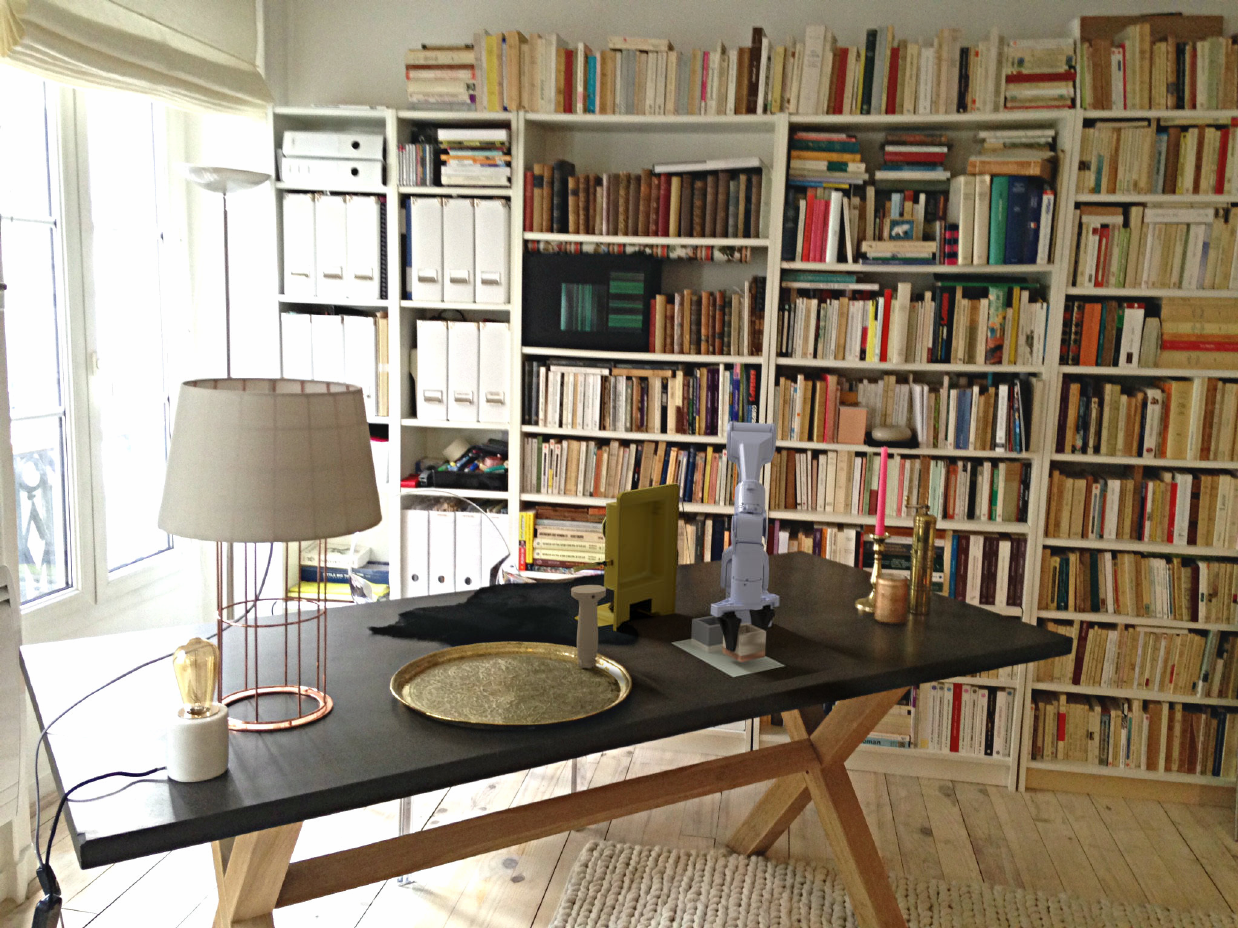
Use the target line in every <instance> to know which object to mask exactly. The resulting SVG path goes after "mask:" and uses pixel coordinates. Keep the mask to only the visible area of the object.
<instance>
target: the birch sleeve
mask: <svg viewBox="0 0 1238 928" xmlns="http://www.w3.org/2000/svg"><path fill="white" fill-rule="evenodd" d="M766 640H767V630H766V631H764V630H762V629H760V628H758V627H756V626H753V625H751V624H749V623H743V624H740V627H739V631H738V636H737V645H736V650H735V652H731V651H729V650H728V649H726V644H725V639H724V635H723V652H722V653H724V654H726V655H728V656H730V657H732V658H734V659H736V660H738V661H740V662H744V661H749V660H754V659H758V658H763V657H765V656H766V642H767V641H766Z"/></svg>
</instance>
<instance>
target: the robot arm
mask: <svg viewBox="0 0 1238 928" xmlns="http://www.w3.org/2000/svg"><path fill="white" fill-rule="evenodd" d="M776 444H777V426H776V424H775V423H774V422H770V423H764V422H763V423H760V422H739V421H738V422H736V421H732V420H731V421H729V422H728V423H727V426H726V445H725V446H726V448H725V449H726V458H727V461H729V462H730V463H733V464H735V465H736V469H737V472H738V482H737V483H738V484H737V485H736V486H735V488H734V507H733V509H734V510H733V512H734V513H733V515H732V516H731V517H732V518H731V532H730V540H731V545H730V546H729V547H727V548H726V549H724V550H723V552H722V553H721V554H722V555H721V562H720V582H719V583H720V584H719V585H720V587H721V588H722V589H724V590H725V599H723V600H721V601H718V602H716V603H710V615H711V616H713V615H714V616H716V618H717V620H718V622H719V624H720V626H721V629H722V632H723V635H724V639H725V644H726V649H728V650H729V651H731V652H735V650H736V645H737V636H738V631H739V627H740V624H743V623H749V624H751V625H753V626H756V627H758V628H760V629H762V630H764V631H766V632H767V630H768V628H770V627H772V622H773V619H774V618H775V616H776V609H773V607H774V608H776V607H780V595H778V594H774V593H770V592H769V591H768V590H767V589H768V588H769V580H770V579H769V578H770V577H769V576H770V565H769V564H770V563H769V559H770V557H769V555H768V552H767V551H766V550H765V546H766V545H767V541H768V535H769V534H768V533H769V532H768V531H769V530H768V529H769V519H768V515H767V509H766V487H765V486H764V484H762V483H760V479H761V470H762V468H763V467H764V465H767V464H769V463H770V464H771V463H772V461H773V458H774V456H775V452H776V448H777V447H776V446H777V445H776ZM763 539H764V543H763Z"/></svg>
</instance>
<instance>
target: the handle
mask: <svg viewBox="0 0 1238 928" xmlns="http://www.w3.org/2000/svg"><path fill="white" fill-rule="evenodd" d="M570 591H571V593H570V595H571V597H572V598H573V599H575V600H576V601H578V606H579V607H578V615H579V618H578V621H577V633H576V651H577V652H576V653H577V658H578V659H577V664H578V666H579V667H580V668H581V669H592V668H594V667H596V664H597V655H598V649H599V626H598V619H597V606H598V602H599V601H600V600H601V599H603V598H605V597H606V595H607V593H606V592H607V588H605V587H604V585H603V586H602V585H599V584H584V585H576V586H573V587H572V588H571V589H570Z"/></svg>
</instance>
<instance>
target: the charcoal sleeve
mask: <svg viewBox="0 0 1238 928" xmlns="http://www.w3.org/2000/svg"><path fill="white" fill-rule="evenodd" d="M690 639H691V644H693V645H695V646H697V647H698V648H700V649H702V650H704V651H706V652H708V653H709V652H714V651H719V650H723V632H722V629H721V626H720V624H719V622H718V620H717V618H716V616H714V615H709V616H704V617H703V616H701V617H697V618H692V619H691V638H690Z"/></svg>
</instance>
